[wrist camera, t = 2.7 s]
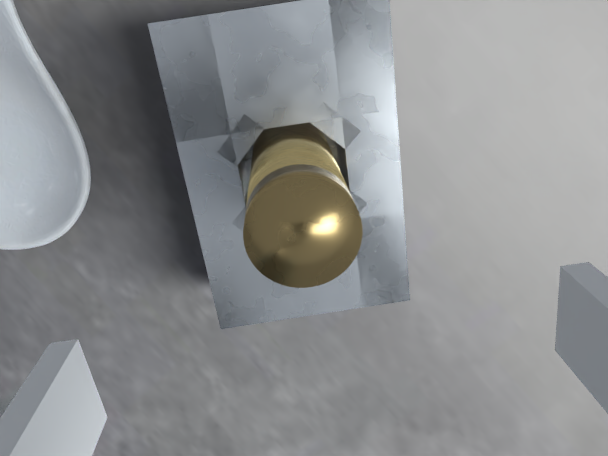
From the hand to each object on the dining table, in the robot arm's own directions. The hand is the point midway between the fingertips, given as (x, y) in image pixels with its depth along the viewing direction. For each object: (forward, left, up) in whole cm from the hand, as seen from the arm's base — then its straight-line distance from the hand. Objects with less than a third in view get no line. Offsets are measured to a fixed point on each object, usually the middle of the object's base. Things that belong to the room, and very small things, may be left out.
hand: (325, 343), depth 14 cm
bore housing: (0, 0, -22) cm, 22 cm away
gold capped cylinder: (0, 0, -21) cm, 21 cm away
